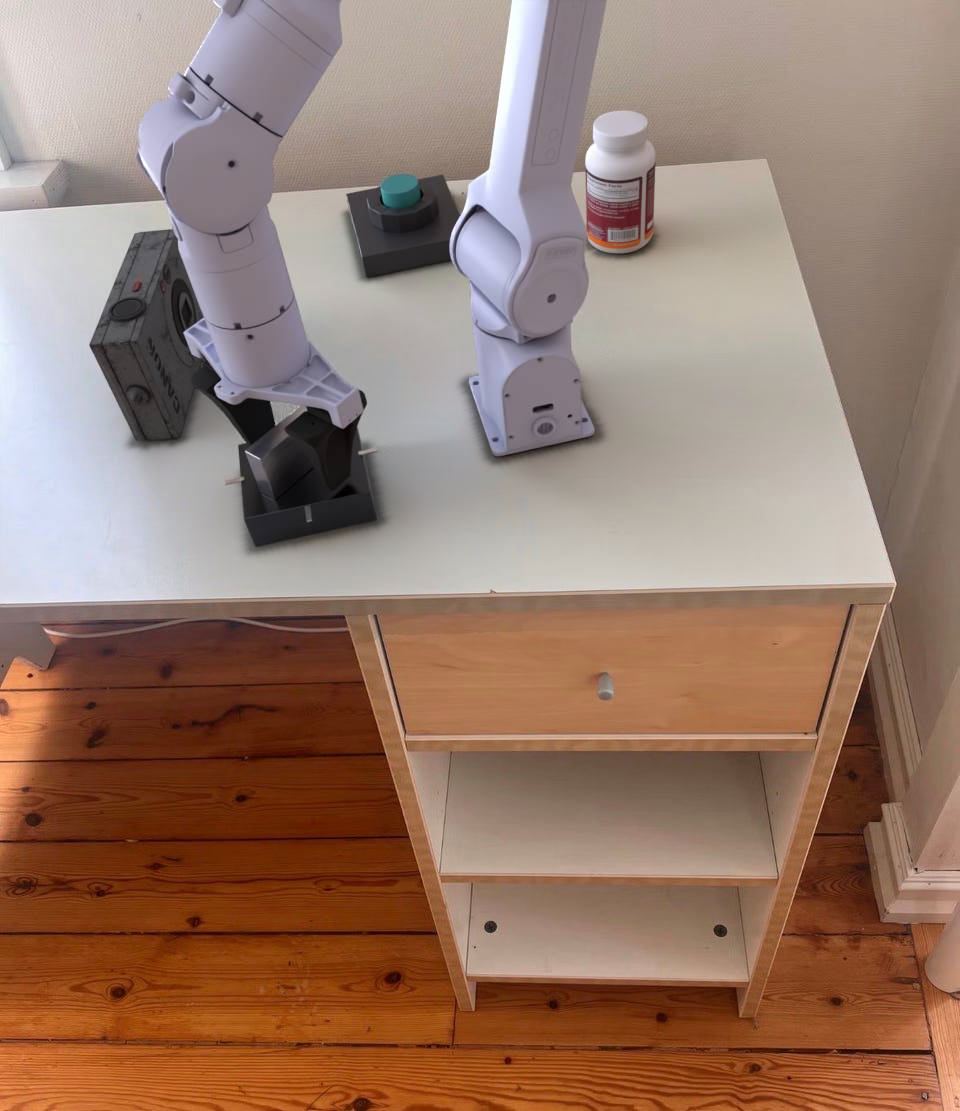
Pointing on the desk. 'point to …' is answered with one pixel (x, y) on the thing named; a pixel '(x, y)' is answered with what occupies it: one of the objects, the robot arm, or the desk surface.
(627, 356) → the desk surface
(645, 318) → the desk surface
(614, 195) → the pill bottle
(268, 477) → the red-tipped silver slab
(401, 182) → the button
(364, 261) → the control block
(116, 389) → the camera
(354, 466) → the tap deck
